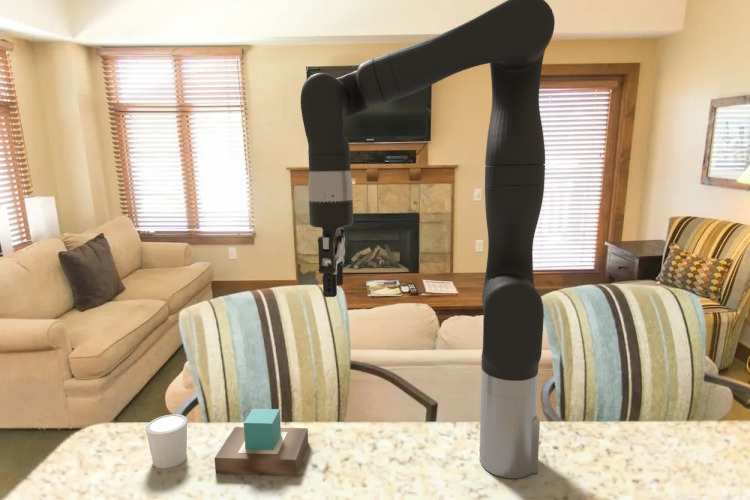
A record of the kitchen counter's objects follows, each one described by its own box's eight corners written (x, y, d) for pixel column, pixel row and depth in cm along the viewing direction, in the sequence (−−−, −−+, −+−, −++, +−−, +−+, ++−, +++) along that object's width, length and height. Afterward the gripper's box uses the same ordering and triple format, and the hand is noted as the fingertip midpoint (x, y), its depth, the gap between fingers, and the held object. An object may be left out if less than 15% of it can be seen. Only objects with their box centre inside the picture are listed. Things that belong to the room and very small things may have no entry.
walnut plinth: (308, 442, 91) (307, 428, 91) (296, 475, 81) (295, 459, 81) (235, 441, 92) (234, 426, 92) (215, 473, 82) (214, 457, 82)
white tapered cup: (175, 472, 83) (172, 435, 82) (140, 468, 84) (136, 431, 83) (198, 450, 89) (195, 415, 88) (165, 446, 91) (161, 412, 90)
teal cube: (280, 434, 89) (279, 409, 88) (273, 450, 84) (272, 423, 83) (254, 434, 89) (252, 408, 88) (245, 449, 84) (243, 422, 83)
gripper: (347, 200, 75) (350, 301, 78) (356, 195, 89) (358, 281, 92) (300, 201, 75) (304, 301, 78) (316, 196, 90) (319, 281, 92)
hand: (334, 290), depth 85 cm, fingers open, 8 cm apart
